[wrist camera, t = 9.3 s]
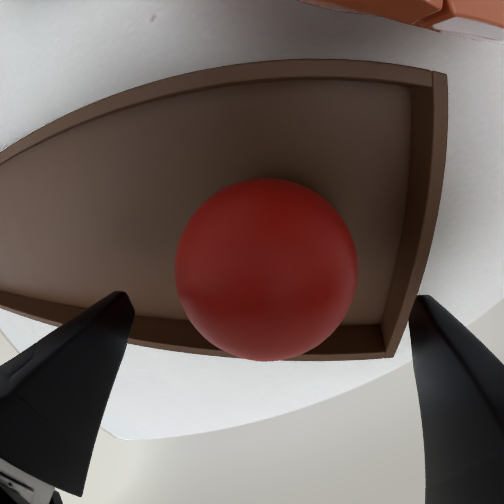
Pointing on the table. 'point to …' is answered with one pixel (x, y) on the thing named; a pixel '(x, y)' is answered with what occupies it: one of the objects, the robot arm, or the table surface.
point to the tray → (219, 177)
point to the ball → (266, 269)
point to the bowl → (434, 15)
